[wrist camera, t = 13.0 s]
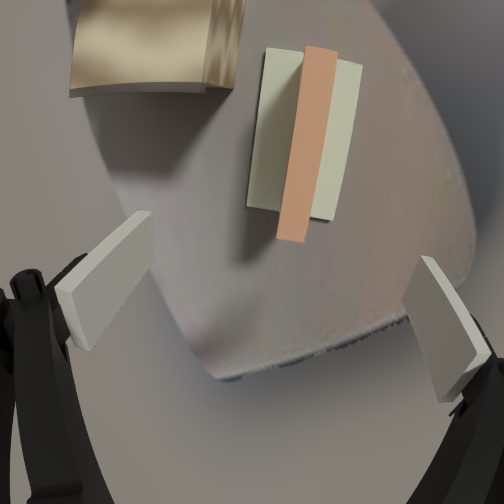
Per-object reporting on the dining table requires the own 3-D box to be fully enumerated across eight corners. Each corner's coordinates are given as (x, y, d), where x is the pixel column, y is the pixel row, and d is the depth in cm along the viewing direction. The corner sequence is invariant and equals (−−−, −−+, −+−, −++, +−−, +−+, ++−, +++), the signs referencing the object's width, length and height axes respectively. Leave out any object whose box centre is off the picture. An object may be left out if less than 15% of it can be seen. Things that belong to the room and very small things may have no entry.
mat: (267, 48, 26) (266, 47, 25) (361, 65, 25) (362, 65, 25) (247, 203, 35) (246, 206, 34) (332, 218, 34) (332, 220, 33)
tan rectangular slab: (302, 61, 26) (305, 45, 18) (325, 65, 25) (338, 51, 18) (280, 203, 33) (276, 238, 25) (301, 207, 33) (304, 242, 25)
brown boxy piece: (149, -16, 22) (94, -47, 12) (249, -21, 22) (227, -72, 11) (133, 93, 30) (69, 97, 19) (232, 95, 29) (200, 92, 18)
